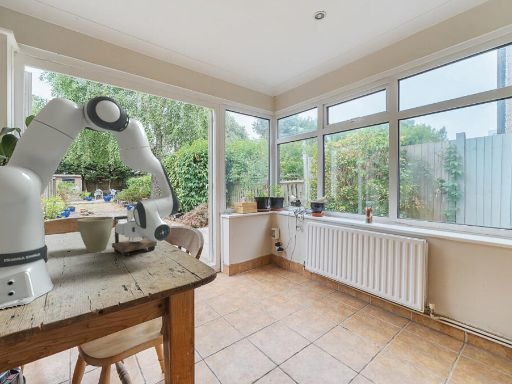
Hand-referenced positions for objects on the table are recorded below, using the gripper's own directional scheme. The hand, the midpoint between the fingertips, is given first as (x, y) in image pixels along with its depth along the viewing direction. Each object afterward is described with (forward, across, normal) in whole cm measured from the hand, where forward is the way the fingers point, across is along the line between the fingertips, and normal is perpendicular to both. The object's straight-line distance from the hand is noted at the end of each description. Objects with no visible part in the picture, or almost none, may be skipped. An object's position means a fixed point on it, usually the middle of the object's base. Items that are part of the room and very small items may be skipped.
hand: (134, 223), depth 113 cm
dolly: (0, 0, +14) cm, 14 cm away
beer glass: (-1, 0, +8) cm, 9 cm away
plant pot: (+16, +12, +14) cm, 25 cm away
